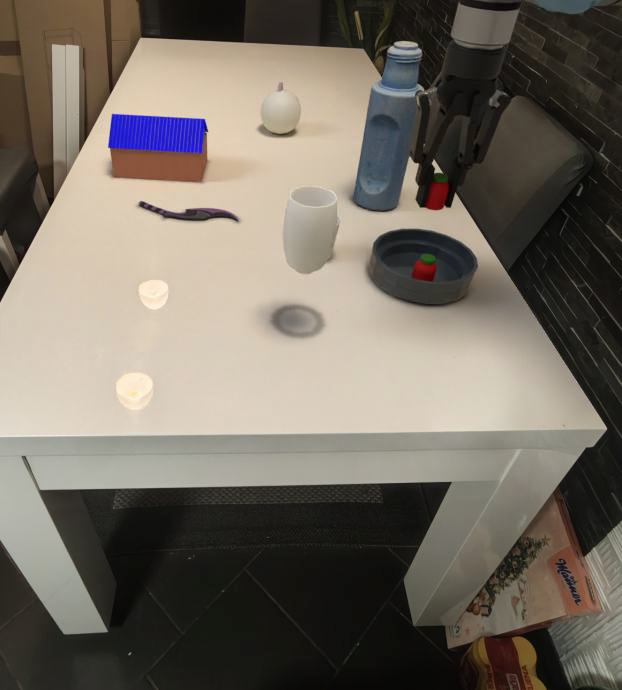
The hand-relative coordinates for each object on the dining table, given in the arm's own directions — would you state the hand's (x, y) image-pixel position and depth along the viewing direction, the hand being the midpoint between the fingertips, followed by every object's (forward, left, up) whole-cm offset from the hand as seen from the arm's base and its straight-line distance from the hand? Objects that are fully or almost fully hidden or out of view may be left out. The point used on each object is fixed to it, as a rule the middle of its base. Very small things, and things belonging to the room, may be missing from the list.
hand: (433, 203), depth 88 cm
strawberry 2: (0, 0, 0) cm, 0 cm away
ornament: (+62, -24, -13) cm, 68 cm away
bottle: (+21, -14, -13) cm, 29 cm away
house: (+61, +13, -13) cm, 64 cm away
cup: (+2, +27, -13) cm, 29 cm away
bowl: (-2, +2, -12) cm, 13 cm away
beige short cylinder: (+14, +11, -13) cm, 22 cm away
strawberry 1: (-4, +4, -12) cm, 13 cm away
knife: (+40, +21, -13) cm, 47 cm away
